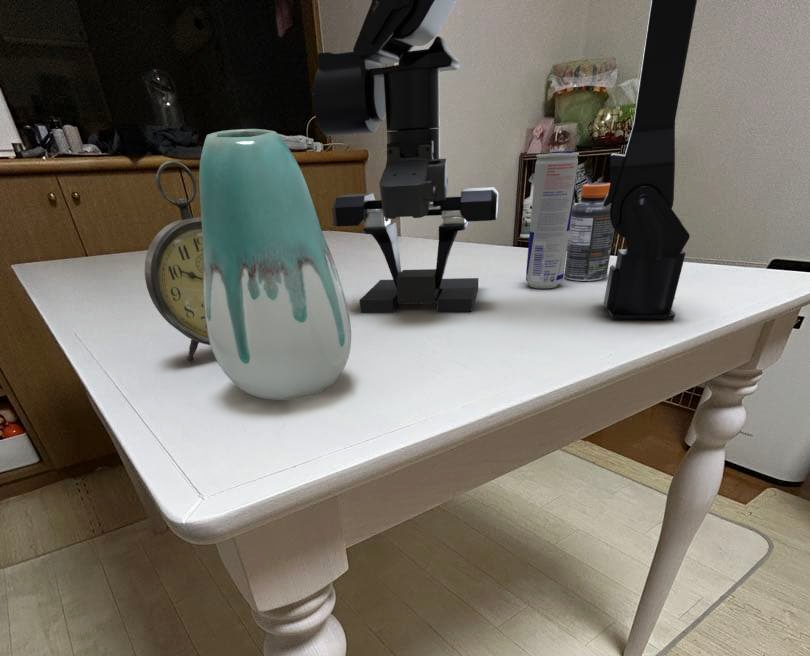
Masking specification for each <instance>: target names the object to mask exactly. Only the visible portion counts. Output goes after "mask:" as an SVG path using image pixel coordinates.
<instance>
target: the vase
mask: <svg viewBox="0 0 810 656" xmlns="http://www.w3.org/2000/svg"><path fill="white" fill-rule="evenodd" d="M198 174H199V175H198V176H199V177H198V179H199V180H198V182H199V200H200V201H199V202H200V218H201V220H202V238H203V267H202V276H203V300H204V311H205V319H206V327H207V332H208V338H209V342H210V345H209V346H210V349H211V351H212V354H213V356H214V358H215V360H216V362H217V364H218V366H219V367H220V369H221V370H222V372H223V373H224V374H225V376H226V377H227V378H228V380H230V381H231V382H232V383H233V384H235V386H236V387H237V388H239V389H240V390H242V391H243V392H244V393H246V394H249V395H251V396H253V397H256V398H259V399H264V400H271V401H272V400H273V401H286V400H288V401H289V400H296V399H302V398H306V397H309V396H314V395H315V394H318V393H320V392H323V391H324V390H326V389H327V388H329V387H330V386H332V385H333V384H334V383H335V382H336V381H337V380H338V379H339V378H340V376H341V375H342V373H343V371H344V370H345V367H346V365H347V363H348V361H349V356H350V352H351V349H352V348H351V347H352V323H351V319H350V313H349V309H348V303H347V299H346V296H345V292H344V289H343V285H342V283H341V279H340V275H339V273H338V272H339V271H338V270H337V266H336V264H335V260H334V258H333V255H332V252H331V250H330V248H329V245H328V243H327V241H326V238H325V235H324V233H323V230H322V227H321V224H320V220H319V218H318V214H317V211H316V209H315V205H314V201H313V199H312V196H311V193H310V189H309V187H308V185H307V181H306V178H305V177H304V174H303V172H302V170H301V167H300V165H299V163H298V162H297V160H296V158H295V156H294V155H293V153H292V151H291V149H290V148H289V147H288V145H287V144H286V142H285V141H284V139H283V138H282V137H281V136H280V134H278V133H277V131H275V130H268V129H260V128H243V129H241V128H240V129H228V130H226V129H225V130H221V131H215V132H211V133H209V134H206V136H205V139H204V142H203V146H202V150H201V154H200V161H199V173H198Z"/></svg>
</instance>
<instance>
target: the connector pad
mask: <svg viewBox="0 0 810 656" xmlns="http://www.w3.org/2000/svg"><path fill="white" fill-rule="evenodd" d="M396 281H397V300H398V304H399V305H402V304H403V305H404V304H405V305H407V304H408V305H409V304H435V302H436V301H435V300H436V299H437V297H438V295H439V289H436V268H429V269H427V268H426V269H424V268H423V269H422V268H421V269H403V270H401V273H400V274H399V275H398V276H397V277H396Z"/></svg>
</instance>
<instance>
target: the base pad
mask: <svg viewBox="0 0 810 656" xmlns="http://www.w3.org/2000/svg"><path fill="white" fill-rule="evenodd" d="M478 292H479V277H468V278H467V277H465V278H464V277H462V278H455V277H453V278H442V282H441V285H440V288H439V295H438V297H437V299H436V300H435V302H437V303H436V305H437V307H436V309H437V310H436V311H437V313H471V312H473V308H474V304H475V301H476V298H477V295H478ZM399 305H400V304H398V300H397V288H396V286H395V283H394V280H393V279H379V280H378V281H377V282H376V283H375V285H373V286H372V287H371V288H370V289H369V290H368V291H367V292H366V293H365V294H364V295H363V296H362V297H361V298H360V299H359V307H360V313H362V314H363V313H364V314H365V313H366V314H367V313H373V314H375V313H377V314H379V313H394V312H395V311H396V310H397V308H398V307H399Z"/></svg>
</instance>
